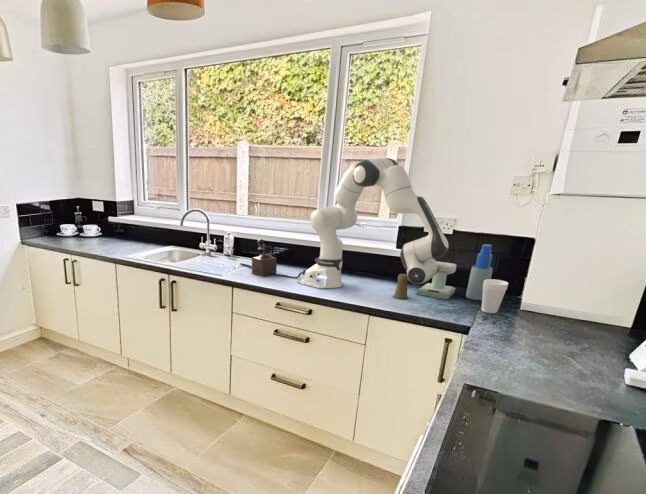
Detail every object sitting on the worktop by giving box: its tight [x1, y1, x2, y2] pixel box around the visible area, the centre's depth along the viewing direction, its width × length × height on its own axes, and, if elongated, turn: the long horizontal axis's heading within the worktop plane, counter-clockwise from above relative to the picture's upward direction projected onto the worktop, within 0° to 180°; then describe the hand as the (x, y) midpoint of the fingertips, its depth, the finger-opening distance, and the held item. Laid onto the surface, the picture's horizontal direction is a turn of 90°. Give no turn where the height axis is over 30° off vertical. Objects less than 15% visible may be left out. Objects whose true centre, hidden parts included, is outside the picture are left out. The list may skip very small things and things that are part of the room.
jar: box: [431, 273, 448, 289], centre depth 221 cm, size 6×6×11 cm
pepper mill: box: [251, 238, 278, 278], centre depth 258 cm, size 16×11×18 cm
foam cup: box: [480, 278, 509, 314], centre depth 198 cm, size 10×9×13 cm
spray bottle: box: [465, 243, 494, 301], centre depth 214 cm, size 9×9×25 cm
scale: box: [417, 282, 456, 300], centre depth 224 cm, size 14×14×3 cm
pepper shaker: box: [393, 273, 410, 300], centre depth 216 cm, size 6×6×11 cm
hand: (435, 262), depth 209 cm, fingers open, 8 cm apart
